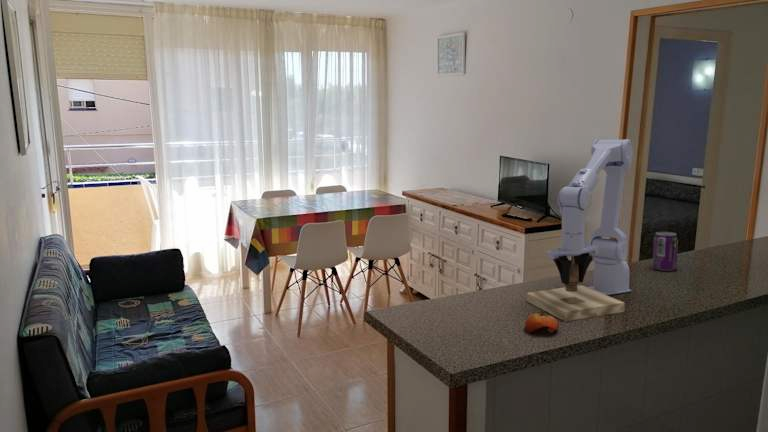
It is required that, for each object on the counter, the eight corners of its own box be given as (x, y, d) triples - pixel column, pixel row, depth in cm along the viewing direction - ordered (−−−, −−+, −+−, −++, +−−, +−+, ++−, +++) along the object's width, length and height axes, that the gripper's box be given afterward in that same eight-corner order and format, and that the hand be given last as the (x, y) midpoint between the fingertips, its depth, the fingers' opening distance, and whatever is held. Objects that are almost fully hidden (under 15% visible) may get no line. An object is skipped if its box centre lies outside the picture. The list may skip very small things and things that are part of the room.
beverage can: (680, 271, 186) (682, 235, 184) (658, 272, 186) (660, 236, 184) (670, 266, 193) (671, 231, 191) (648, 266, 193) (650, 231, 191)
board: (581, 293, 167) (581, 285, 167) (624, 311, 150) (624, 302, 150) (526, 301, 162) (526, 292, 161) (565, 321, 145) (565, 311, 144)
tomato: (569, 326, 137) (551, 307, 135) (554, 350, 135) (535, 331, 133) (547, 321, 144) (529, 303, 142) (532, 343, 142) (514, 325, 140)
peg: (573, 288, 155) (573, 262, 155) (582, 291, 151) (582, 265, 151) (560, 289, 154) (560, 263, 154) (569, 292, 150) (569, 266, 150)
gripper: (586, 227, 156) (585, 275, 158) (540, 232, 152) (540, 282, 154) (604, 231, 149) (602, 282, 151) (556, 236, 145) (555, 288, 147)
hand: (572, 282), depth 152 cm, fingers closed on peg, 4 cm apart
